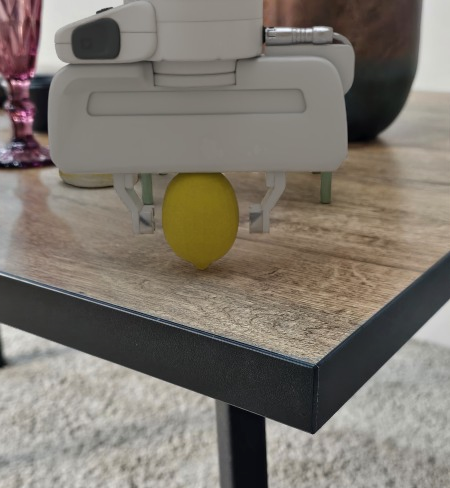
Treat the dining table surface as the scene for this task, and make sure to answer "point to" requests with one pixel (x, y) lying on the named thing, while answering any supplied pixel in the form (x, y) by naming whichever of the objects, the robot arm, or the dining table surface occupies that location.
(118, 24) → the robot arm
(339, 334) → the dining table surface
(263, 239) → the dining table surface
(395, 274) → the dining table surface
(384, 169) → the dining table surface
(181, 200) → the lemon
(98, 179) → the bread roll
